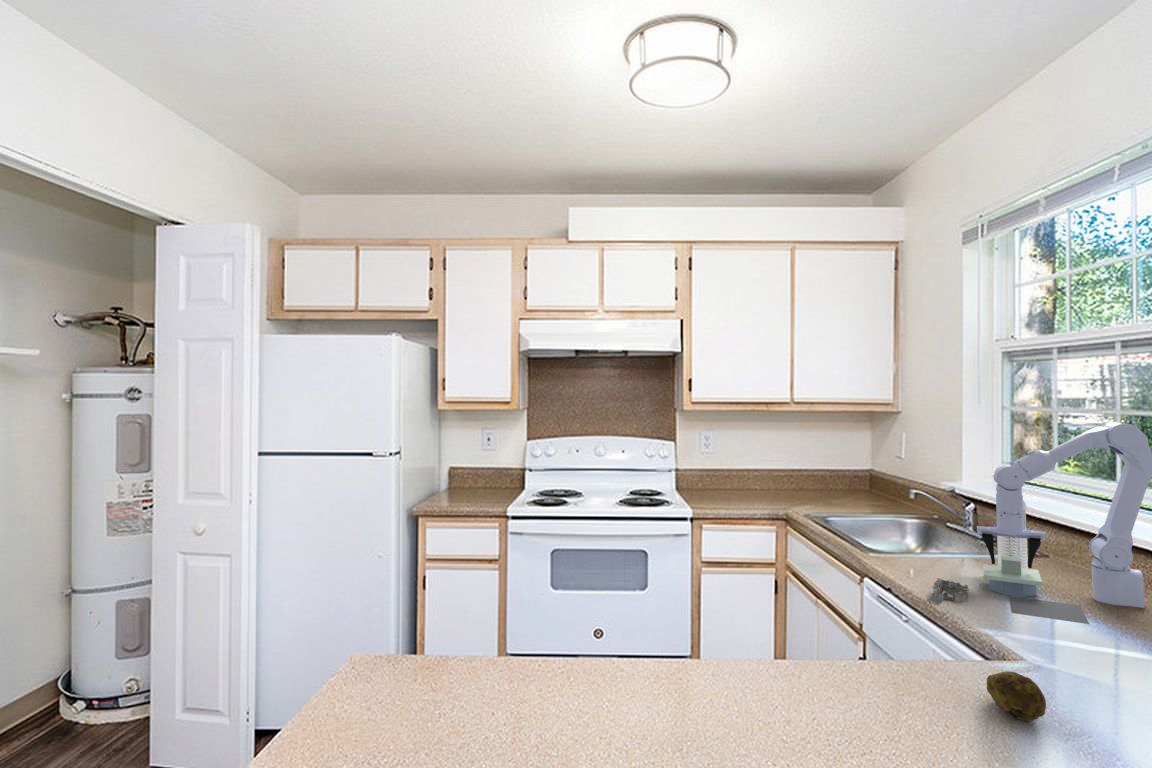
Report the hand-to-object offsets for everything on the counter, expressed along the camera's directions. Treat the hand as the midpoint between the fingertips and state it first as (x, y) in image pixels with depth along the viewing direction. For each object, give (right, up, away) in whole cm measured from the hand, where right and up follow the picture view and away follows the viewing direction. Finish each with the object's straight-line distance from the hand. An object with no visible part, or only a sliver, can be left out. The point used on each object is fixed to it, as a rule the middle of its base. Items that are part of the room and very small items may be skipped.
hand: (1011, 565), depth 160 cm
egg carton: (-18, -8, -3) cm, 20 cm away
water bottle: (+10, -7, +13) cm, 18 cm away
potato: (-42, -7, -61) cm, 74 cm away
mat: (-2, -7, -14) cm, 16 cm away
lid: (0, -3, 0) cm, 3 cm away
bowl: (0, -7, 0) cm, 7 cm away
